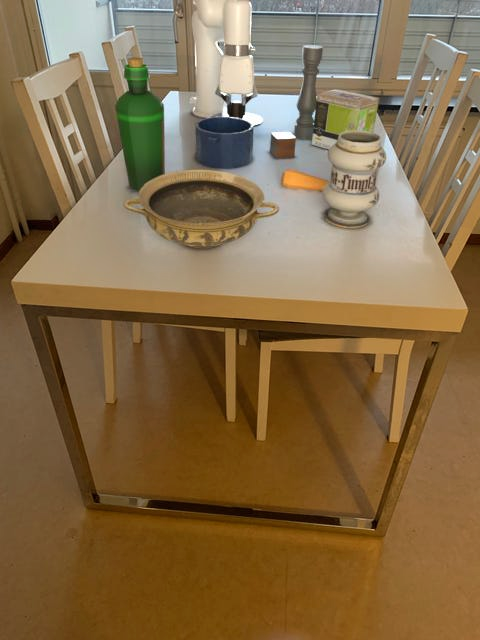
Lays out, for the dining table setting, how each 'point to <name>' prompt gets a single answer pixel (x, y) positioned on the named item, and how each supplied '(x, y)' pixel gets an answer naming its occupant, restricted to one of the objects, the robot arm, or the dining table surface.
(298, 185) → the carrot
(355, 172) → the apothecary jar
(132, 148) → the bottle
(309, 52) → the candle holder
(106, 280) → the dining table surface
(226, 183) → the ceramic bowl
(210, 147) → the pot
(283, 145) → the block
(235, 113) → the lid
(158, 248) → the dining table surface
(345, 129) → the tea box
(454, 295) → the dining table surface
